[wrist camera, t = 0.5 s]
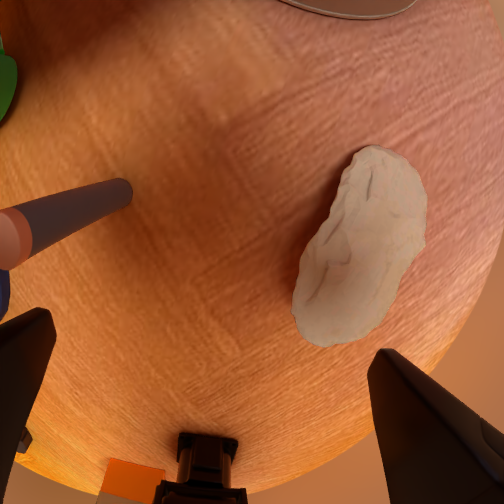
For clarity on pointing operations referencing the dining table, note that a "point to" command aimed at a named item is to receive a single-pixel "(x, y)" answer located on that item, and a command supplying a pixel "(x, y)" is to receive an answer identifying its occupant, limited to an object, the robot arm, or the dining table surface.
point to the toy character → (6, 79)
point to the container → (354, 7)
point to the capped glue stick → (56, 218)
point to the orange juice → (129, 483)
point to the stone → (360, 249)
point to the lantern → (4, 292)
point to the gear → (24, 441)
